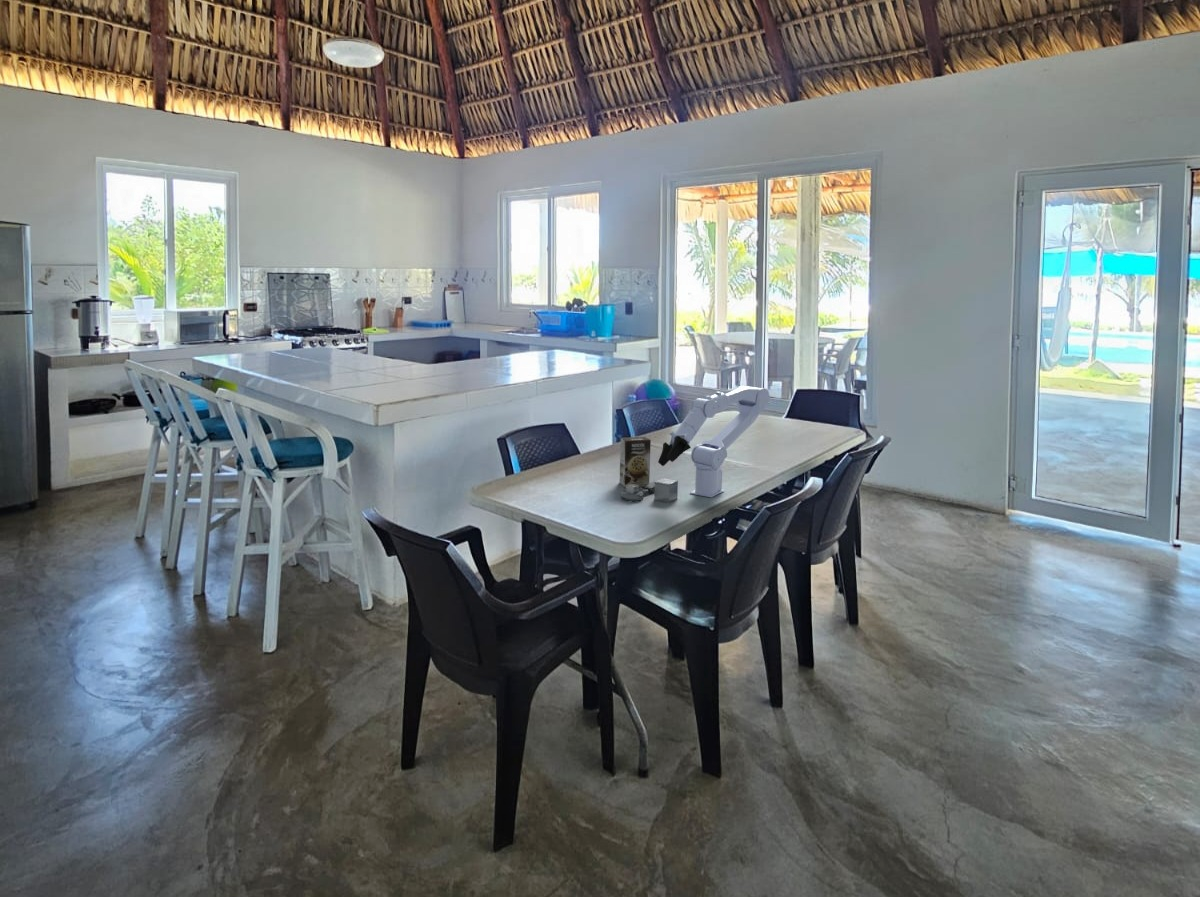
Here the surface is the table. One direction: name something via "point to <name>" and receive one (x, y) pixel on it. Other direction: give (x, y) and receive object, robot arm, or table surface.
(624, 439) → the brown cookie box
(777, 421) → the table surface
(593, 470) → the table surface
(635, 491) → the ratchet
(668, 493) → the grey brushed cube
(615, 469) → the table surface
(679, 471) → the table surface
